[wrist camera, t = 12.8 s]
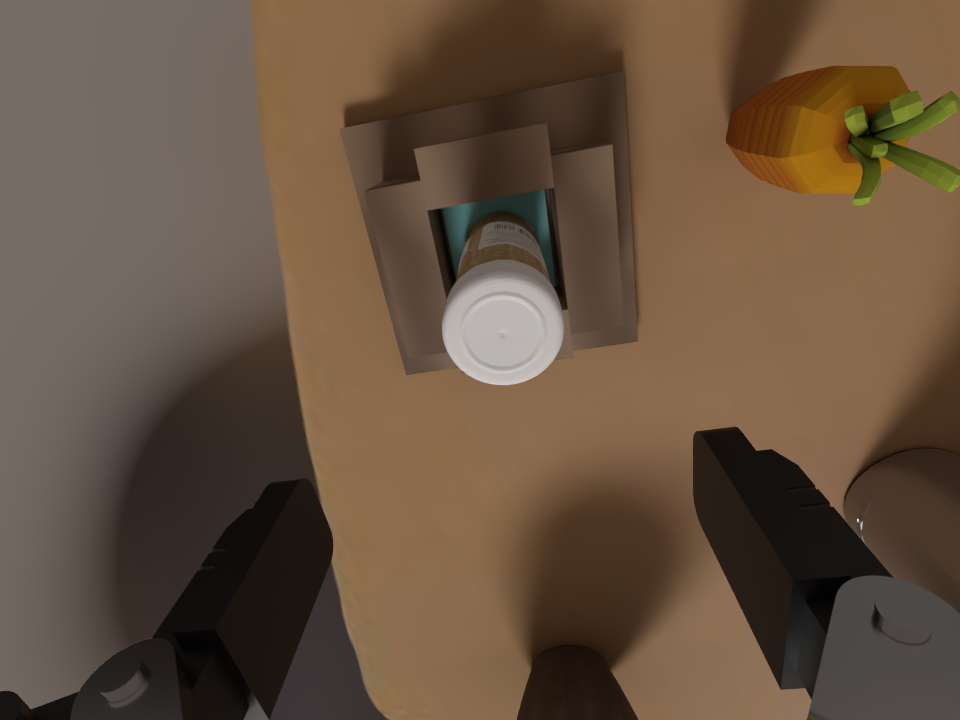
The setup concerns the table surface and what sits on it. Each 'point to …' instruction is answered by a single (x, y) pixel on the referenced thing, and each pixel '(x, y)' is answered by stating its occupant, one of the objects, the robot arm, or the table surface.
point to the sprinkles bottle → (502, 304)
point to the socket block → (493, 174)
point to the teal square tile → (520, 204)
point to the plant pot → (573, 688)
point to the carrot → (838, 131)
